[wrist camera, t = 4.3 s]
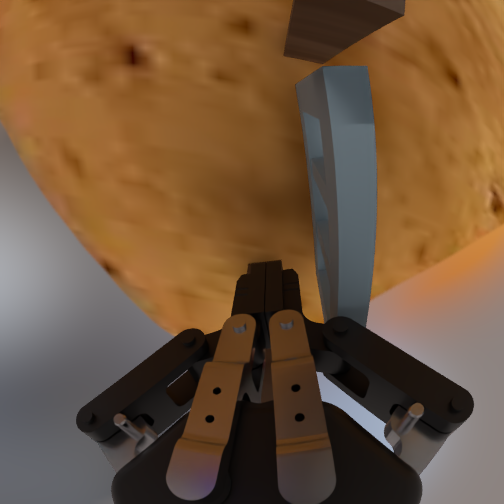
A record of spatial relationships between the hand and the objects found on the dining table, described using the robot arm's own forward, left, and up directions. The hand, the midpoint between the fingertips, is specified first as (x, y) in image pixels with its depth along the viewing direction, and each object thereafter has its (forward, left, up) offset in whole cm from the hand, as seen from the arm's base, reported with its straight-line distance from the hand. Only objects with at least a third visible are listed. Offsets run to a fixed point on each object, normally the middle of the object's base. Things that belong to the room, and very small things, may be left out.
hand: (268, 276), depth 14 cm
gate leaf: (-3, +2, -6) cm, 7 cm away
